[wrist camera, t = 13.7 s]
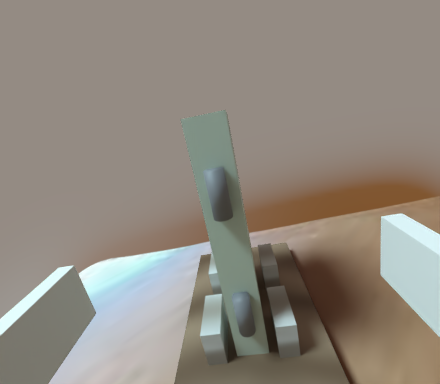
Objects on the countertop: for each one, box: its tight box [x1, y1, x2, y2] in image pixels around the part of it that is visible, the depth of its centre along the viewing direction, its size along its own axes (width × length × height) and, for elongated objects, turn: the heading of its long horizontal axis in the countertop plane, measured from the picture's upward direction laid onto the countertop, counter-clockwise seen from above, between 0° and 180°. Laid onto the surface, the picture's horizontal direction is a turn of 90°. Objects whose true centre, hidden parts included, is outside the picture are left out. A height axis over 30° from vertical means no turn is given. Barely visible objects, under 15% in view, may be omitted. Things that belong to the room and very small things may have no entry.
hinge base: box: [174, 243, 349, 384], centre depth 22 cm, size 20×12×4 cm, turn 178°
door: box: [181, 110, 269, 356], centre depth 20 cm, size 11×4×18 cm, turn 178°
